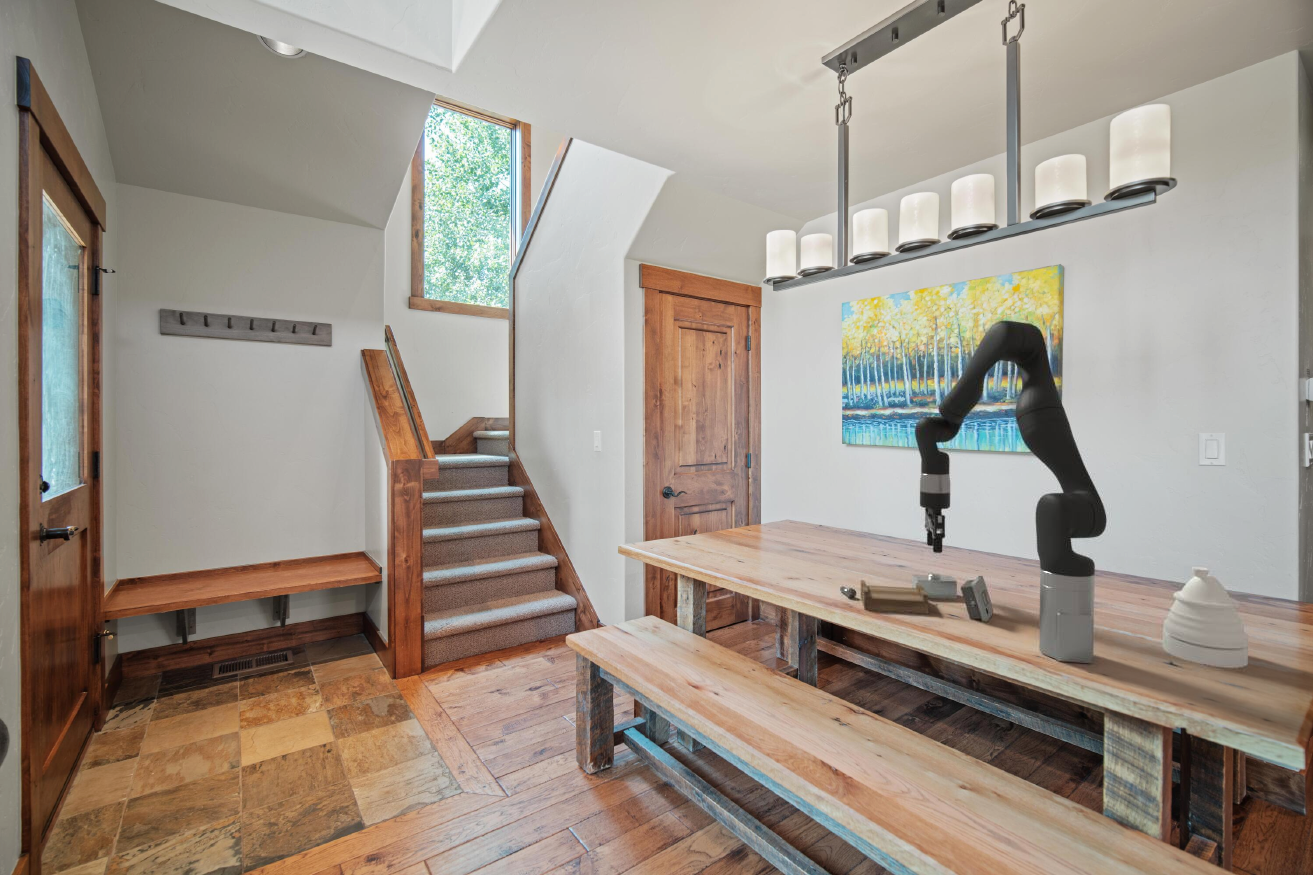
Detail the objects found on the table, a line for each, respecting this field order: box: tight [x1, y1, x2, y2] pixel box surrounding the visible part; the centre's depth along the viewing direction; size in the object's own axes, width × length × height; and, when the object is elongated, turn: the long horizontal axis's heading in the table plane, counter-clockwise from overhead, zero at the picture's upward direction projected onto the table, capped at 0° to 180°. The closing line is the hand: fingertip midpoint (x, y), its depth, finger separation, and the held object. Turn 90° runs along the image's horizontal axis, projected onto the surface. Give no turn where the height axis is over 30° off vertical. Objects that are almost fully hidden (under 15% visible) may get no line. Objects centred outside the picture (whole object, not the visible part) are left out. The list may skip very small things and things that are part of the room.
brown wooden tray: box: [860, 579, 929, 615], centre depth 157 cm, size 12×15×4 cm
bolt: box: [839, 585, 857, 599], centre depth 166 cm, size 6×3×3 cm, turn 6°
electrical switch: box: [960, 575, 995, 623], centre depth 148 cm, size 9×5×9 cm, turn 141°
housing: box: [911, 573, 958, 600], centre depth 165 cm, size 6×10×6 cm, turn 81°
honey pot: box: [1162, 566, 1249, 669], centre depth 123 cm, size 13×13×18 cm
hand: (934, 548), depth 165 cm, fingers open, 8 cm apart
